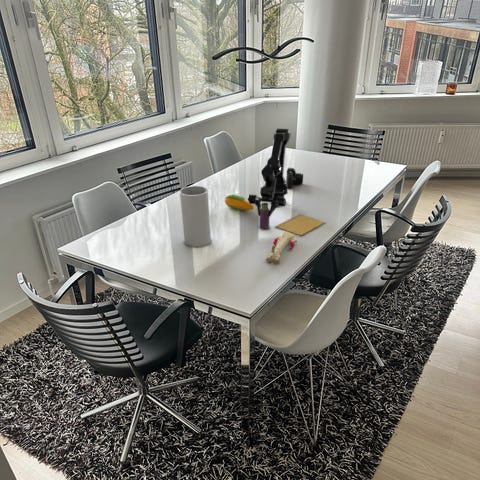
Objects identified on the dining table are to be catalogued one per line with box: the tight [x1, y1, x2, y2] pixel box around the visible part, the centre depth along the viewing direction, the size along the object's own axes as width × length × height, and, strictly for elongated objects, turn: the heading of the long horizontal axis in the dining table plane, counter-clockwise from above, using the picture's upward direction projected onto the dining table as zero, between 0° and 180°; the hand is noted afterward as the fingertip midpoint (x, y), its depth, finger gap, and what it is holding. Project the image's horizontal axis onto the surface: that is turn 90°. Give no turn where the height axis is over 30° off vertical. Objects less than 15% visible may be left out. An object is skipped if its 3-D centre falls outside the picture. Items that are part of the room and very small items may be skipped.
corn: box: [224, 194, 255, 212], centre depth 248 cm, size 7×8×20 cm
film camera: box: [285, 167, 304, 190], centre depth 279 cm, size 18×12×10 cm
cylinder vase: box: [179, 185, 212, 248], centre depth 211 cm, size 12×12×25 cm
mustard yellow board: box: [275, 214, 325, 237], centre depth 231 cm, size 20×16×1 cm
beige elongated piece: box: [265, 231, 298, 265], centre depth 205 cm, size 10×9×25 cm
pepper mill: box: [259, 202, 270, 230], centre depth 226 cm, size 5×5×12 cm
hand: (263, 216), depth 225 cm, fingers closed on pepper mill, 5 cm apart
